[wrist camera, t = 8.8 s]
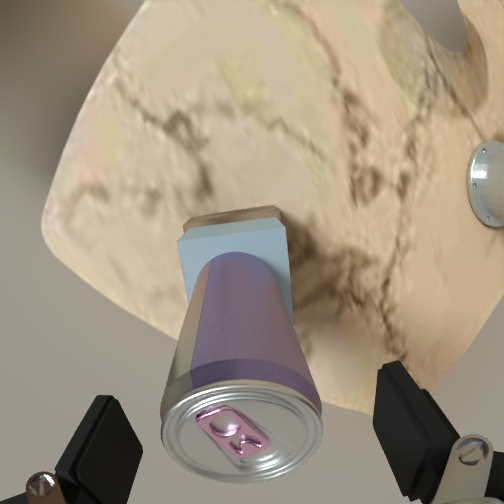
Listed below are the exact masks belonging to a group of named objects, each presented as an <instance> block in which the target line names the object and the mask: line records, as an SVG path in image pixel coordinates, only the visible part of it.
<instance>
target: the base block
mask: <svg viewBox="0 0 504 504" xmlns="http://www.w3.org/2000/svg"><path fill="white" fill-rule="evenodd" d="M271 217H277V219H278V220H279V221H280V222H281V216H280V210H279V209H278V208H276V207H275V206H274V205H268V206H261V207H255V208H248V209H241V210H235V211H229V212H222V213H216V214H210V215H204V216H198V217H192V218H191V219H190V220H189V221H187V222H186V223H185V224H184V225H183V230H184V233H185V232H186V231H187V230H188V229H189V228H195V227H202V226H209V225H216V224H224V223H232V222H239V221H247V220H255V219H263V218H271Z"/></svg>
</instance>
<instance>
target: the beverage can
mask: <svg viewBox="0 0 504 504" xmlns="http://www.w3.org/2000/svg"><path fill="white" fill-rule="evenodd" d="M321 414H322V405H321V400H320V397H319V394H318V392H317V389H316V386H315V383H314V381H313V378H312V375H311V373H310V370H309V367H308V365H307V362H306V359H305V357H304V354H303V351H302V349H301V346H300V343H299V341H298V338H297V335H296V333H295V330H294V327H293V325H292V322H291V320H290V317H289V314H288V312H287V309H286V306H285V304H284V301H283V299H282V296H281V293H280V291H279V288H278V285H277V283H276V280H275V278H274V275H273V273H272V271H271V270H270V268H269V267H268V266H267V265H266V264H265V263H264V262H263V261H262V260H261V259H259V258H258V257H256V256H254V255H251V254H248V253H244V252H227V253H223V254H220V255H218V256H216V257H214V258H213V259H211V260H210V261H208V262H207V263H206V264H205V265H204V267H203V268H202V269H201V271H200V273H199V274H198V277H197V280H196V283H195V286H194V289H193V293H192V296H191V299H190V303H189V306H188V309H187V313H186V316H185V319H184V323H183V326H182V329H181V333H180V336H179V340H178V343H177V347H176V350H175V354H174V357H173V361H172V364H171V368H170V372H169V375H168V380H167V383H166V387H165V390H164V394H163V398H162V401H161V406H160V417H161V422H162V424H161V439H162V443H163V446H164V448H165V450H166V451H167V453H168V454H169V456H170V457H171V458H172V459H173V460H174V461H175V462H176V463H177V464H179V465H180V466H181V467H183V468H184V469H186V470H187V471H189V472H191V473H193V474H196V475H197V476H200V477H203V478H206V479H209V480H213V481H218V482H224V483H234V484H246V483H257V482H263V481H267V480H271V479H274V478H278V477H281V476H283V475H286V474H288V473H290V472H292V471H294V470H296V469H297V468H299V467H300V466H302V465H303V464H304V463H305V462H307V461H308V460H309V459H310V458H311V457H312V455H314V453H315V452H316V450H317V449H318V447H319V445H320V443H321V440H322V436H323V422H322V419H321Z"/></svg>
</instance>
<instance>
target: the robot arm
mask: <svg viewBox="0 0 504 504" xmlns="http://www.w3.org/2000/svg"><path fill="white" fill-rule="evenodd" d="M467 189H468V196H469V200H470V203H471V206H472V208H473V211H474V213H475V214H476V216H477V217H478V218H479V220H480V221H481V222H483V223H484V224H486V225H489V226H492V227H500V226H503V225H504V144H502V143H500V142H497V141H487V142H483V143H482V144H480V145H479V146H478V147H477V148H476V149H475V151H474V153H473V154H472V157H471V159H470V162H469V167H468V173H467ZM373 427H374V431H375V433H376V435H377V437H378V440H379V442H380V444H381V446H382V449H383V451H384V453H385V455H386V457H387V460H388V462H389V465H390V467H391V469H392V472H393V474H394V476H395V479H396V481H397V483H398V486H399V488H400V491H401V493H402V495H403V496H404V497H405V496H408V497H409V500H410V501H411V502H412V501H414V500H417V499H420V500H421V502H422V503H423V504H504V453H503V452H497V451H493V446H492V443H491V442H490V441H489V440H488V438H486V437H484V436H482V435H478V434H469V435H466V436H463V437H460V436H459V434H458V433H457V432H456V430H455V429H454V427H453V426H452V424H451V423H450V421H449V420H448V419H447V417H446V416H445V414H444V413H443V412H442V410H441V409H440V408H439V406H438V405H437V403H436V402H435V401H434V399H433V398H432V396H431V395H430V394H429V392H428V391H427V390H425V389H421V390H420V388H419V387H418V385H417V384H416V383H415V381H414V380H413V378H412V377H411V376H410V374H409V373H408V372H407V370H406V369H405V368H404V366H403V365H402V363H401V362H400V361H398V360H397V361H393V362H390V363H386V364H383V366H382V369H379V370H378V374H377V386H376V396H375V406H374V415H373ZM142 454H143V449H142V445H141V443H140V441H139V440H138V438H137V436H136V434H135V432H134V431H133V429H132V427H131V425H130V423H129V421H128V419H127V417H126V415H125V413H124V411H123V409H122V407H121V405H120V403H119V401H118V400H117V399H115V398H114V397H113V396H111V395H98V396H96V398H95V399H94V401H93V403H92V405H91V406H90V408H89V409H88V411H87V413H86V414H85V416H84V418H83V420H82V421H81V423H80V425H79V426H78V428H77V430H76V432H75V433H74V435H73V437H72V439H71V440H70V442H69V444H68V446H67V447H66V449H65V451H64V453H63V455H62V456H61V458H60V460H59V462H58V463H57V465H56V467H55V471H56V473H55V475H53V474H52V473H50V472H44V471H43V472H38V473H36V474H34V475H33V476H31V477H30V478H29V480H28V481H27V484H26V492H25V493H22V494H19V495H17V496H14V497H11V498H9V499H6V500H3V501H0V504H127V501H128V498H129V494H130V491H131V488H132V485H133V482H134V479H135V476H136V473H137V469H138V466H139V463H140V460H141V457H142Z"/></svg>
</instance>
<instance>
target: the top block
mask: <svg viewBox="0 0 504 504" xmlns="http://www.w3.org/2000/svg"><path fill="white" fill-rule="evenodd" d="M177 245H178V251H179V256H180V262H181V267H182V273H183V278H184V283H185V288H186V293H187V298H188V303H190V299H191V296H192V293H193V289H194V286H195V283H196V280H197V277H198V274H199V273H200V271H201V269H202V268H203V267H204V265H205V264H206V263H207V262H208V261H210V260H211V259H213V258H214V257H216V256H218V255H220V254H223V253H227V252H244V253H248V254H251V255H254V256H256V257H258V258H259V259H261V260H262V261H263V262H264V263H265V264H266V265H267V266H268V267H269V268H270V270H271V271H272V273H273V275H274V278H275V280H276V283H277V285H278V288H279V291H280V293H281V296H282V299H283V301H284V304H285V306H286V309H287V312H288V314H289V317H290V320H291V322H292V325H293V326H294V317H293V304H292V292H291V280H290V269H289V259H288V248H287V238H286V228H285V226H284V225H283V224H282V223H281V222H280V221H279V220H278V219H277V217H271V218H263V219H255V220H247V221H239V222H232V223H224V224H216V225H209V226H202V227H195V228H189V229H188V230H187V231H186V232H185V233H184V234H183V235H182V237H181V238H180V239H179V240H178V241H177Z"/></svg>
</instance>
